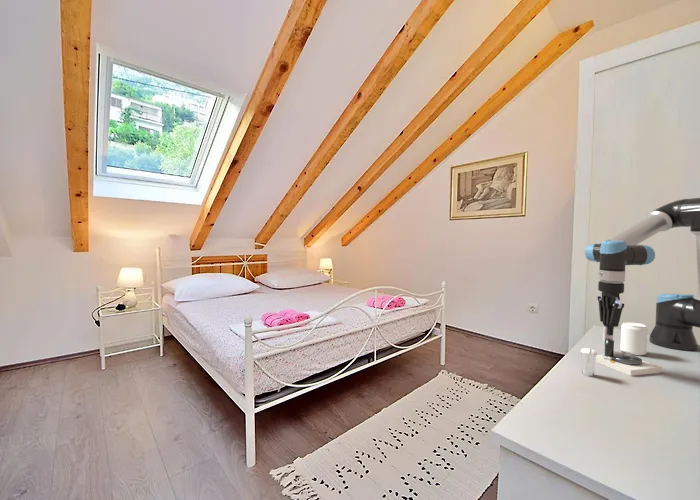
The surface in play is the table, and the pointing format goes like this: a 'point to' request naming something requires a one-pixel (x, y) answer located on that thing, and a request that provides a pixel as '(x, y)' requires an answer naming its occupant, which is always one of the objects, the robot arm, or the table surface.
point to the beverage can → (633, 338)
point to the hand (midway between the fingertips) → (607, 342)
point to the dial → (620, 354)
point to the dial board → (629, 366)
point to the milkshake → (588, 361)
